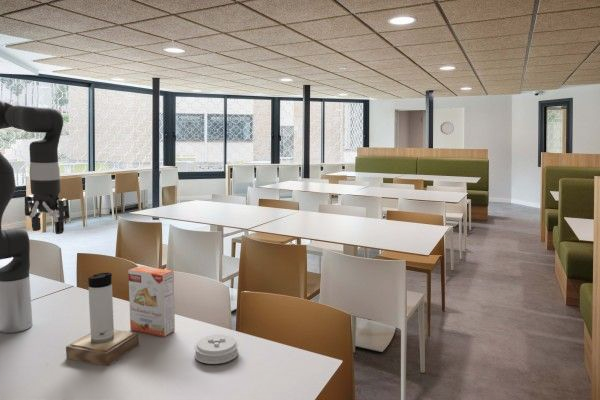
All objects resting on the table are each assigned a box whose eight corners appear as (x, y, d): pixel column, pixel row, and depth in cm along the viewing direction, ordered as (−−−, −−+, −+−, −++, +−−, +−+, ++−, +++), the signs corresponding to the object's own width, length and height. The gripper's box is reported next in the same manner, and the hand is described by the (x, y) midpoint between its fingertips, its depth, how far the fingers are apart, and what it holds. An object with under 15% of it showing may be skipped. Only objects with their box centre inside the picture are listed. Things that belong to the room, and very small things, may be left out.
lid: (245, 350, 135) (245, 334, 135) (225, 370, 123) (225, 353, 123) (209, 343, 139) (208, 328, 139) (185, 362, 128) (185, 345, 127)
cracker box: (129, 330, 148) (127, 269, 145) (142, 324, 153) (140, 264, 150) (163, 338, 142) (162, 274, 140) (175, 331, 148) (174, 269, 145)
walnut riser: (66, 358, 128) (65, 345, 128) (100, 338, 142) (100, 326, 141) (107, 365, 124) (106, 352, 124) (138, 344, 138) (138, 332, 137)
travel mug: (106, 344, 128) (103, 277, 126) (86, 342, 130) (83, 275, 127) (119, 335, 134) (116, 271, 132) (99, 333, 136) (97, 269, 133)
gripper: (74, 178, 131) (77, 232, 133) (37, 174, 135) (40, 227, 138) (53, 180, 124) (56, 237, 126) (14, 177, 128) (18, 232, 130)
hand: (47, 232), depth 132 cm, fingers open, 8 cm apart
